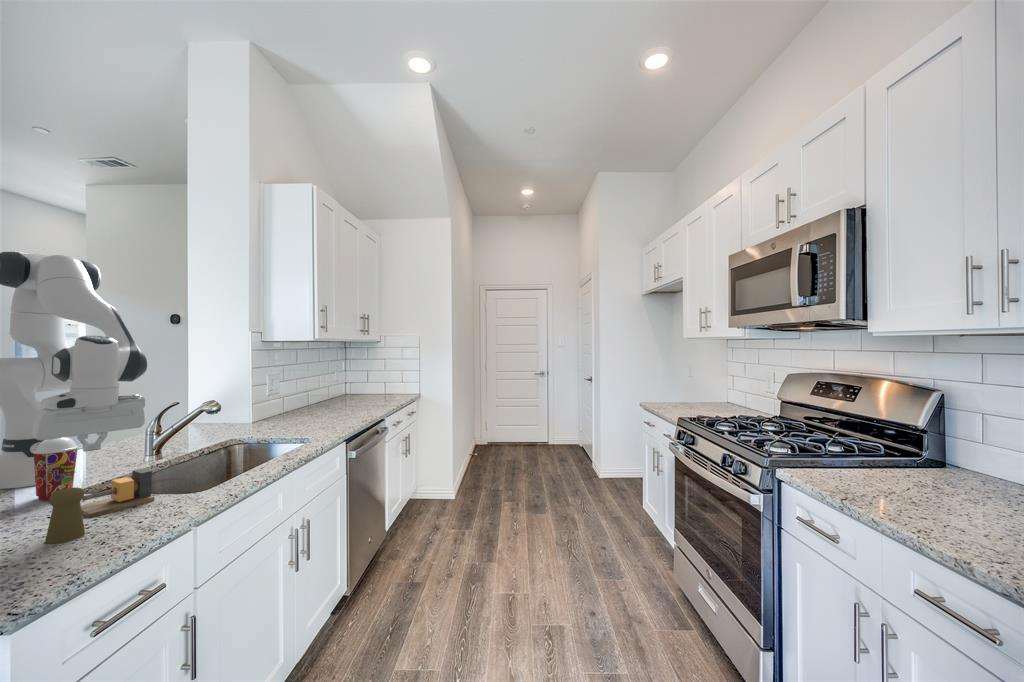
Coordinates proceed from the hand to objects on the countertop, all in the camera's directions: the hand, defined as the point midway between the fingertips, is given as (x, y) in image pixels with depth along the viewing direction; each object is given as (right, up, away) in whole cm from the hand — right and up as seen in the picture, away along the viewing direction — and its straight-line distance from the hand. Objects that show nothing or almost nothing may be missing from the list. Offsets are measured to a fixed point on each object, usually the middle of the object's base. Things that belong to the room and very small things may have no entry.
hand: (91, 450), depth 103 cm
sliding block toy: (+2, -16, +4) cm, 17 cm away
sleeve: (+3, -15, +5) cm, 16 cm away
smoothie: (-20, -16, +9) cm, 27 cm away
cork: (+9, -16, -14) cm, 23 cm away
